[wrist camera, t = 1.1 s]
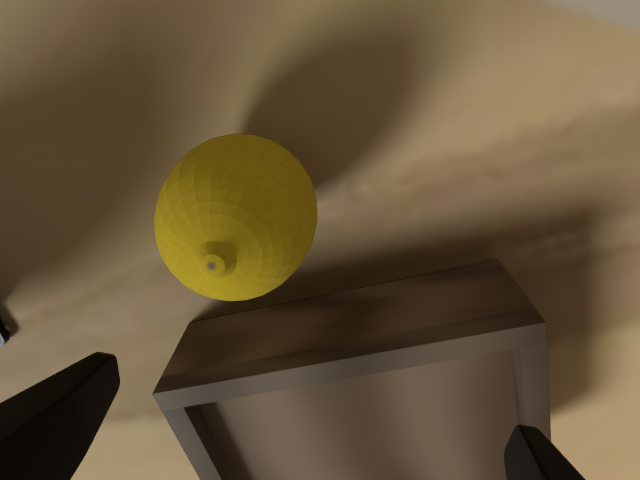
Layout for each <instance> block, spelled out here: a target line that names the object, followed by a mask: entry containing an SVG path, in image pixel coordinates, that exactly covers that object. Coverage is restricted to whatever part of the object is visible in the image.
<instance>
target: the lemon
mask: <svg viewBox="0 0 640 480" xmlns="http://www.w3.org/2000/svg"><path fill="white" fill-rule="evenodd" d="M316 224H317V199H316V195H315V192H314V189H313V185H312V182H311V179H310V177H309V176H308V174H307V172H306V171H305V169H304V168H303V166H302V164H301V163H300V162H299V161H298V160H297V159H296V158H295V157H294V156H293V155H292V154H291V153H290V152H289V151H288V150H287V149H286V148H284V147H282V146H280V145H279V144H277V143H275V142H274V141H272V140H269V139H266V138H263V137H259V136H256V135H249V134H230V135H225V136H221V137H216V138H212V139H210V140H208V141H206V142H204V143H203V144H201V145H199V146H197V147H195V148H193V149H192V150H190V151H189V152H188V153H187V154H186V155H185V156H184V157H183V158H182V159H181V160H180V161H179V162H178V163H177V164H176V165H175V166H174V167H173V168H172V170H171V172H170V173H169V175H168V177H167V179H166V181H165V182H164V184H163V186H162V188H161V190H160V192H159V195H158V200H157V205H156V210H155V215H154V227H155V240H156V243H157V246H158V249H159V252H160V255H161V257H162V259H163V260H164V262H165V264H166V265H167V267H168V268H169V270H170V271H171V273H172V274H173V275H174V276H175V277H176V278H177V279H178V280H179V281H180V282H182V283H183V284H184V285H185V286H187V287H188V288H190V289H192V290H193V291H195V292H196V293H198V294H201V295H204V296H207V297H209V298H212V299H218V300H224V301H240V300H249V299H252V298H255V297H259V296H262V295H264V294H266V293H268V292H270V291H271V290H273V289H275V288H276V287H278V286H280V285H281V284H283V283H284V282H285V281H286V280H287V279H288V278H289V277H290V276H291V275H292V274H293V273H294V272H295V271H296V270H297V268H298V267H299V266H300V264H301V263H302V261H303V259H304V257H305V255H306V254H307V252H308V250H309V248H310V246H311V244H312V241H313V237H314V233H315V228H316Z"/></svg>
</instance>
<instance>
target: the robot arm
mask: <svg viewBox="0 0 640 480" xmlns="http://www.w3.org/2000/svg"><path fill="white" fill-rule="evenodd" d="M9 339H10V336H9V333H8V332H7V330H6V329H5V328H4V326H3V325H2V323H1V322H0V347H1V346H3V345H4V344H5V343H6V342H8V340H9ZM119 385H120V377H119V370H118V364H117V359H116V357H115V355H113V354H109V353H103V352H96V353H93V354H91V355H89V356H87V357H86V358H84V359H82V360H80V361H78V362H76V363H74V364H73V365H71V366H69V367H67V368H65V369H63V370H61V371H59V372H58V373H56V374H54V375H52V376H50V377H48V378H46V379H45V380H43V381H41V382H39V383H37V384H35V385H33V386H31V387H30V388H28V389H26V390H24V391H22V392H20V393H18V394H17V395H15V396H13V397H11V398H9V399H7V400H5V401H4V402H2V403H0V480H70V479H71V478H72V476H73V474H74V473H75V471H76V470H77V468H78V466H79V465H80V463H81V461H82V460H83V458H84V456H85V455H86V453H87V451H88V449H89V447H90V445H91V444H92V442H93V440H94V438H95V436H96V434H97V432H98V430H99V428H100V426H101V424H102V422H103V420H104V418H105V416H106V414H107V412H108V410H109V408H110V406H111V404H112V402H113V400H114V398H115V396H116V394H117V391H118V389H119ZM504 465H505V472H506V479H507V480H585V479H584V478H583V476H582V475H581V474H580V473H579V472H578V471H577V470H576V469H575V468H574V467H573V466H572V464H571V463H570V462H569V461H568V460H567V459H566V458H565V457H564V456H563V455H562V454H561V452H560V451H559V450H558V449H557V448H556V447H555V446H554V445H553V444H552V443H551V442H550V440H549V439H548V438H547V437H546V436H545V435H544V434H543V433H542V432H541V431H540V430H539V429H538V428H536V427H532V426H527V425H521V424H519V425H516V426H515V428H514V429H513V432H512V434H511V436H510V438H509V440H508V443H507V445H506V447H505V450H504Z"/></svg>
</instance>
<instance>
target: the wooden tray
mask: <svg viewBox="0 0 640 480" xmlns="http://www.w3.org/2000/svg"><path fill="white" fill-rule="evenodd" d="M152 395H153V396H154V398H155V400H156V402H157V403H158V405H159V407H160V409H161V411H162V412H163V414H164V416H165V418H166V419H167V421H168V423H169V425H170V427H171V428H172V430H173V432H174V434H175V436H176V437H177V439H178V441H179V443H180V444H181V446H182V448H183V450H184V452H185V453H186V455H187V457H188V459H189V460H190V462H191V464H192V466H193V468H194V469H195V471H196V473H197V475H198V477H199V478H200V480H507V479H506V472H505V465H504V450H505V447H506V445H507V443H508V440H509V438H510V436H511V434H512V432H513V429H514V428H515V426H516V425H519V424H521V425H527V426H532V427H536V428H538V429H539V430H540V431H541V432H542V433H543V434H544V435H545V436H546V437H547V438H548V439H549V440H550V442H551V430H550V406H549V382H548V358H547V334H546V322H545V321H544V319H543V318H542V317H541V315H540V314H539V313H538V311H537V310H536V309H535V307H534V306H533V305H532V304H531V302H530V301H529V300H528V298H527V297H526V296H525V294H524V293H523V292H522V290H521V289H520V288H519V286H518V285H517V284H516V283H515V281H514V280H513V279H512V277H511V276H510V275H509V273H508V272H507V271H506V269H505V268H504V267H503V265H502V264H501V263H500V262H499V260H495V261H491V262H486V263H481V264H476V265H471V266H466V267H461V268H456V269H451V270H446V271H441V272H437V273H432V274H427V275H422V276H417V277H412V278H407V279H402V280H397V281H392V282H387V283H382V284H378V285H373V286H368V287H363V288H358V289H353V290H348V291H343V292H338V293H333V294H328V295H324V296H319V297H314V298H309V299H304V300H299V301H294V302H289V303H284V304H279V305H274V306H269V307H265V308H260V309H255V310H250V311H245V312H240V313H235V314H230V315H225V316H220V317H215V318H211V319H206V320H201V321H196V322H191V323H189V324H188V326H187V328H186V330H185V332H184V334H183V336H182V338H181V340H180V342H179V343H178V345H177V347H176V349H175V351H174V353H173V355H172V357H171V359H170V361H169V363H168V365H167V367H166V369H165V370H164V372H163V374H162V376H161V378H160V380H159V382H158V384H157V386H156V388H155V390H154V392H153V394H152Z"/></svg>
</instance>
